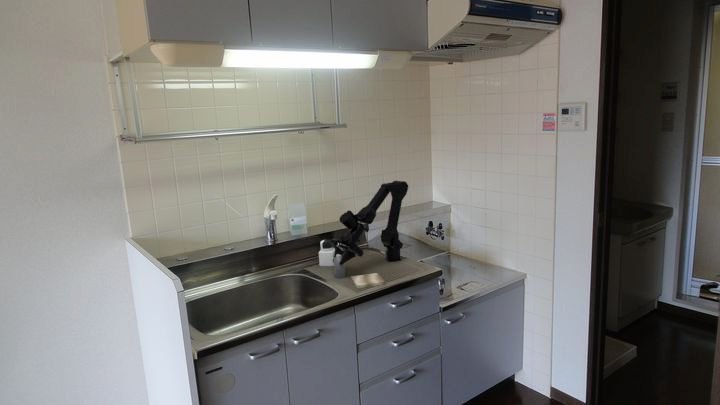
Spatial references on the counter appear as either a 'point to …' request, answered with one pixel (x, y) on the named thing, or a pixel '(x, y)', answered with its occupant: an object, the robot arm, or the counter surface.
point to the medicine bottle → (326, 253)
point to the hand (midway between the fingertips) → (336, 263)
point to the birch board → (367, 280)
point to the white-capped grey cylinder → (339, 267)
